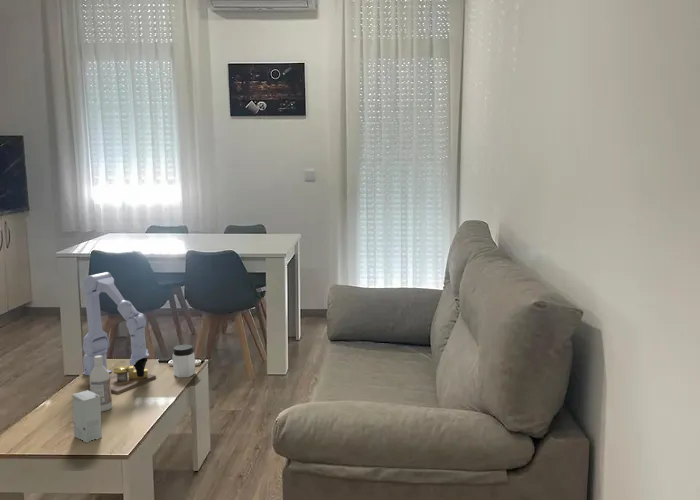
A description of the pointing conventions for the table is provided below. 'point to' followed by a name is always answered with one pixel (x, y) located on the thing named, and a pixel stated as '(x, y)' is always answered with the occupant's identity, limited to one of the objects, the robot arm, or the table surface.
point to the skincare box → (87, 416)
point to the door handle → (129, 369)
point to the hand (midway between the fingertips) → (140, 376)
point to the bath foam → (101, 383)
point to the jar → (183, 361)
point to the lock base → (126, 382)
